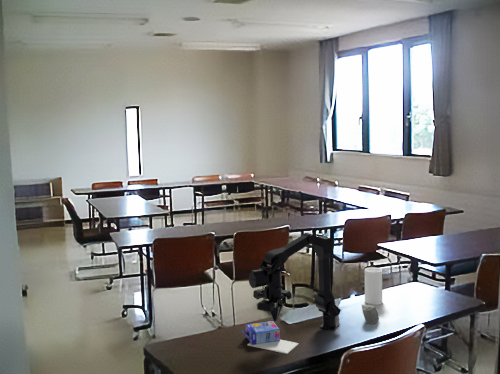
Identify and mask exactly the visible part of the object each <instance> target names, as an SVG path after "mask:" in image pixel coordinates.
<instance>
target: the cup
mask: <svg viewBox="0 0 500 374" xmlns="http://www.w3.org/2000/svg"><path fill="white" fill-rule="evenodd" d="M364 302H365V303H366V304H367V305H371V306H374V305H380V304H382V303H383V268H380V267H375V266H373V267H372V266H370V267H366V268H364Z"/></svg>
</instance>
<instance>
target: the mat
mask: <svg viewBox="0 0 500 374" xmlns="http://www.w3.org/2000/svg"><path fill="white" fill-rule="evenodd" d="M246 346H249V347H254V348H258V349H259V348H260V349H262V350H269V351H271V352H277V353H280V354H286V355H288V354H289V353H290V352H291V351H293V350H294V349H295V348H297V346H299V343H298V342H294V341H290V340H283V339H280V341H275V342H268V343H262V344H256V345H252V344H251V343H250V342H249V343H247V345H246Z"/></svg>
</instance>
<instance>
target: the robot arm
mask: <svg viewBox="0 0 500 374" xmlns="http://www.w3.org/2000/svg"><path fill="white" fill-rule="evenodd" d="M309 245H312V247H313V250H314V253H315V255H316V257H317V266H318V268H317V269H318V291H317V294H316V293H315V294H314V295H313V297H314V302H313V303H314V304H315V306H316V308H317V309H318V311H319V312H321V313H322V324H320V326H319V328H321V329H325V330H330V331H331V330H332V331H335V330H336V329H337V328H338V327H339V326H340V324H339V323H337V316H338V315H340V313H341V308H340V307H338V305H336V301H335V297H334V294H333V293H332V290H331V285H332V284H331V262H330V261H331V260H330V259H331V256H332V254H333V253H334V241H333V240H332V238H328V237H325V236H321V235H318V236H316V235H314V234H313V233H310V232H304V233H302V235H300V236H299V237H297V238H295V239H294V240H292V241H290V242H289V243H287V244H286V245H285V244H284V246H282V247H279V248H275V249H272V250H268V251H266V253H265V254H264V257H263V259H262V261H261V263H260V265H259V266H258V269H252V270H251V271H250V274H249V275H248V283H249V286H250V287H251V288H252V289H254V290H253V295H252V296H253V298H254V299H256V300H260V299H262V300H260V301H259V302H258V303H256V310H258V311H264V312H270V315H271V317H272V321H273V322H277V321H278V320H279V316H280V314H281V312H282V310H283V308H284V306H285V304H286V302H284V301H283V299H284V298H286V300H288V301H289V300H290V299H292V298H293V297H292V291H290V290H285V289H283V288H284V284H282V273H283V272H286V271H287V269H285V268H284V267H283V265H284V264H285V263H287V261H288V259H289V258H290V257H291V256H293V255H295V254H297V253H298V252H299V251H301V250H302V249H304V248H306V247H307V246H309ZM261 287H263V288H261ZM257 288H258V289H257Z"/></svg>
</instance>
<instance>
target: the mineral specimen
mask: <svg viewBox="0 0 500 374" xmlns="http://www.w3.org/2000/svg"><path fill="white" fill-rule="evenodd" d="M361 310H362V314H363V317H364V321H365V323H366V324H367V325H369V324H371V325H376V323H378V322H379V321H380V318H379V316H380V315H379V312H378V309H377V307H376V306H374V305H372V304H361Z"/></svg>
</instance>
